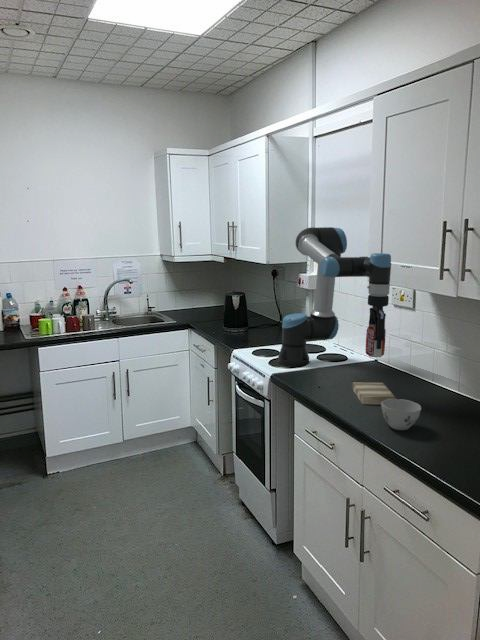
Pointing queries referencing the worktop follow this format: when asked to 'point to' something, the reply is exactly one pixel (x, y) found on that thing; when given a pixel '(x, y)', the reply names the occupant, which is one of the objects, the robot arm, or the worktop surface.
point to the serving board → (372, 392)
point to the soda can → (372, 341)
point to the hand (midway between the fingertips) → (374, 354)
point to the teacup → (400, 413)
